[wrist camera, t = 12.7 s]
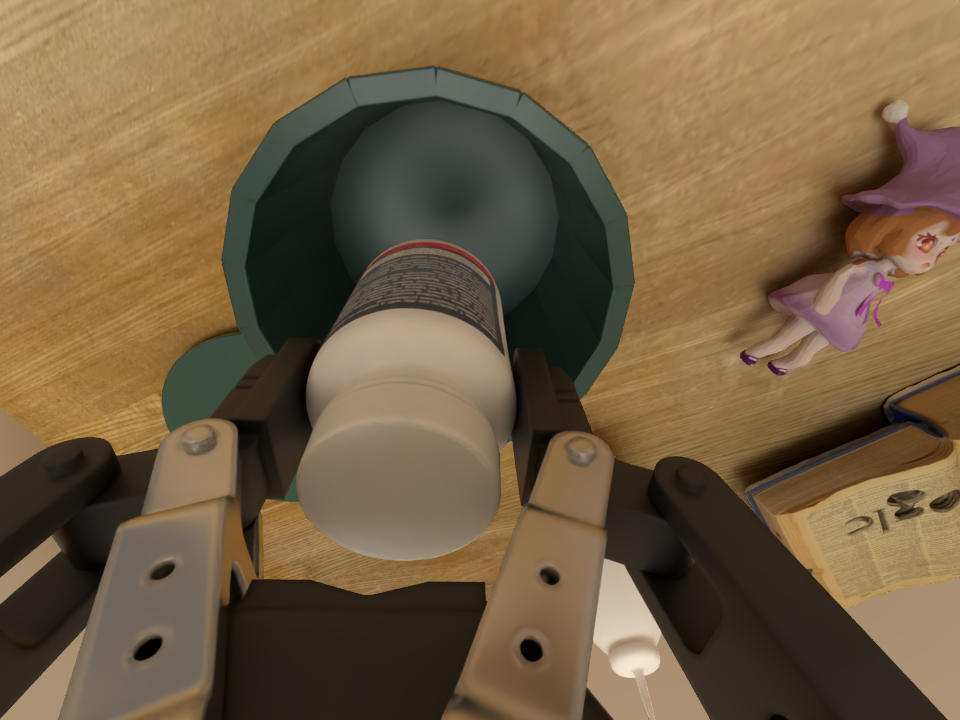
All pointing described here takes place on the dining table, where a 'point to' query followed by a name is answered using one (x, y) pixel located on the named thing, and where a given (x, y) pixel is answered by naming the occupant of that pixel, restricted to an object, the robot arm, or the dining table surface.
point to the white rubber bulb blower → (626, 629)
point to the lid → (208, 383)
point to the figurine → (874, 247)
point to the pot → (430, 212)
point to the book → (877, 500)
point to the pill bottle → (410, 407)
